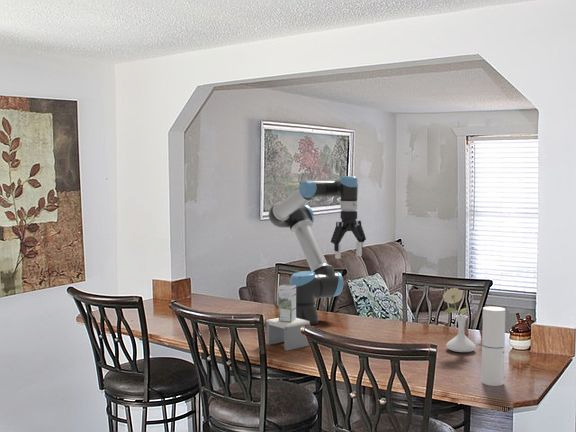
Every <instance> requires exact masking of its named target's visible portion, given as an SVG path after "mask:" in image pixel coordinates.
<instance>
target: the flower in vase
mask: <svg viewBox="0 0 576 432" xmlns="http://www.w3.org/2000/svg"><path fill="white" fill-rule="evenodd" d="M463 295H464V294H463V292H462V289H459V288H458V287H456V288H455V287H453V288H452V287H450V288H449V289H446V291H445V292H444V294H443V295H442V299H443V300H444V302H445V303H448V304H453V305H454V307H448V308H446V309H445V310H444V313H445V312H446V313H450V314H451V313H452V314H453V313H454V312H457V314H456V315H455V316H454V317H455V318H456V321H457V325H458V326H457V327H458V330H457V335H456V336H454V337H453V338H452V339H450V340H449V341H448V342H447V343H446V345H445V346H446V349H448V350H449V351H452V352H456V353H457V352H458V353H471V352H473V351H475V350H476V349H477V347H476V344H475V343H474V342H473V341H472V340H470V339H469V338H468V336H466V334H465V326H466V325H465V324H466V321H467V320H468V318H469V316H468V315H463V313H466V312H467V310H468V308H469V307H468V306H466V307H464V308H462V309H460V310H459V311H458V309H457V305H456V304H457V303H458V302H460V301H461V300H462V298H464V296H463Z"/></svg>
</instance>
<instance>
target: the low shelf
mask: <svg viewBox="0 0 576 432" xmlns="http://www.w3.org/2000/svg"><path fill="white" fill-rule="evenodd" d="M265 321H266V323H265V324H266V333H265V335H266V338H265V339H266V340H265V341H266V343H265V344H266V345H268V346H270V345H275V344H280V343H283V344H284V345H283V347H284V348H283V349H284V351H292V350H296V349H300V348H301V349H302V348H304V347H309V345H308V341H307V339H306V337H305V336H304V335H302V334H301V332H300V328H301V327H302V326H304V325H310V321H307V320H303V319H299V318H296V320H295V321H293V322H282V321H279V317H277V318H276V317H275V318H270V319H266V320H265ZM310 326H311V325H310Z"/></svg>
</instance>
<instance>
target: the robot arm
mask: <svg viewBox="0 0 576 432" xmlns="http://www.w3.org/2000/svg"><path fill="white" fill-rule="evenodd" d="M358 187H359V185H358V178H357V176H354V175H352V176H351V175H349V176H348V175H347V176H346V175H343V176H341V177H340V180H337V179H331V180H311V179H308V180H302V182H300V185H299V188H298V189H297V190H296V191H294V192H293V193H292V194H290V195H289V196H287V197H286V198H285V199H284V200H282V201H278V202H276V203H274V204H273V205H272V206H271V207H270V209H269V211H268V219H269V221H270V222H271V224H273V225H274V226H275V227H278V228H285V229H286V228H289V230H290V232H291V234H292V235H295V236H296V238H297V240H298V242H299V245H300V247H301V250H302V252H303V255H304V256H305V259H306V261H307V264H308V266H309V269H310V270H303V271H302V270H301V271H297V272H294V273H292V275H291V276H290V280H289V285H296V318H299V319H303V320H307V321H310V326H313V325H317V324H319V315H318V312H317V307H316V299H327V298H333V297H338V296H339V295H340V294H341V293H342V292H343V288H344V277H343V276H342V273H341V272H339V271H335V270H334V267H333V266H332V265H330V264H328V262H327V261H328V260H326V257H325V255H324V252H323V251H322V248H321V246H320V244H319V242H318V240H317V237H316V235H315V233H314V230H313V223H314V221H315V216H314V212H313V209H312V208H311V207H310V206H309V205H308V204H307V203H309V202H311V201H312V200H314V199H315V198H330V197H331V198H332V197H333V198H334V197H335V198H337V197H338V198H340V219H341V221H336V222H335V228H334V231H333V234H332V236H331V240H330V243H332V244H333V247H334V248H333V250H334V258H335V259H337V260H341V255H342V254H341V251H342V250H341V248H342V245H341V244H340V242H341V241H342V240H343V238H344V236H345V234H346V233H348V232H352V234H353V235H354V237H355V239H356V240H357V241H356V243H355V244H356V245H355V246H356V248H355V250H356V254H355V255H356V257H362V256H363V251H362V249H363V243H364V242H365V241H366V240H367V237H366V235H365V231H364V227H363V226H362V221H361V220H357V219H358V211H357V210H358V192H359V190H358Z"/></svg>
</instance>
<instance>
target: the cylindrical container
mask: <svg viewBox="0 0 576 432" xmlns="http://www.w3.org/2000/svg"><path fill="white" fill-rule="evenodd" d="M481 331H482V335H481V337H482V338H481V345H482V346H481V377H480V379H481V380H480V381H481V383H482V384H483V385H487V386H491V387H492V386H493V387H496V386H497V387H498V386H503V385H504V384H505V383H504V380H505V346H506V343H505V342H506V341H505V340H506V308H505V307H501V306H484V307H482V330H481Z"/></svg>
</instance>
